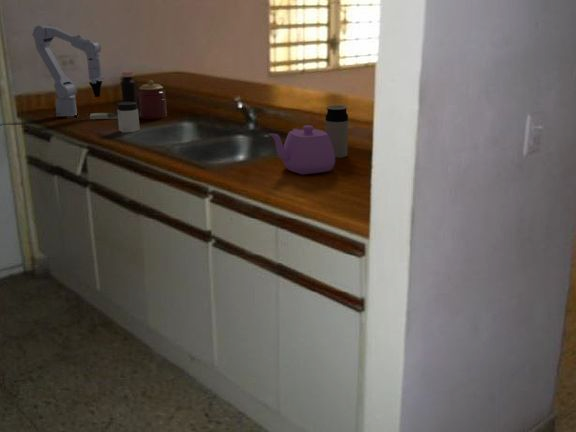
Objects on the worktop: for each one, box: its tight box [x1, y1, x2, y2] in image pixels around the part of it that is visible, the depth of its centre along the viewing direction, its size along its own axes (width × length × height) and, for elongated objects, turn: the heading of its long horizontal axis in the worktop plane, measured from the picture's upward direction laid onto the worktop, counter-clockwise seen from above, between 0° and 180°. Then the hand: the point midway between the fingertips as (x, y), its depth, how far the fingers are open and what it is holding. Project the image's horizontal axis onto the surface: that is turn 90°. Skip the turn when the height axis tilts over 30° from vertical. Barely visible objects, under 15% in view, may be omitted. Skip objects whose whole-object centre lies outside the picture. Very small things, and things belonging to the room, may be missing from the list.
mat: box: [105, 113, 118, 120], centre depth 328 cm, size 18×14×1 cm
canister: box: [137, 79, 168, 120], centre depth 324 cm, size 13×13×18 cm
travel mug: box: [325, 104, 349, 159], centre depth 245 cm, size 8×8×18 cm
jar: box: [116, 101, 141, 134], centre depth 294 cm, size 9×8×12 cm
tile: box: [89, 112, 109, 119], centre depth 325 cm, size 2×8×6 cm
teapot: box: [267, 124, 336, 176], centre depth 227 cm, size 23×21×15 cm
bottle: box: [120, 71, 138, 104], centre depth 336 cm, size 7×7×20 cm
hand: (97, 96), depth 325 cm, fingers closed
